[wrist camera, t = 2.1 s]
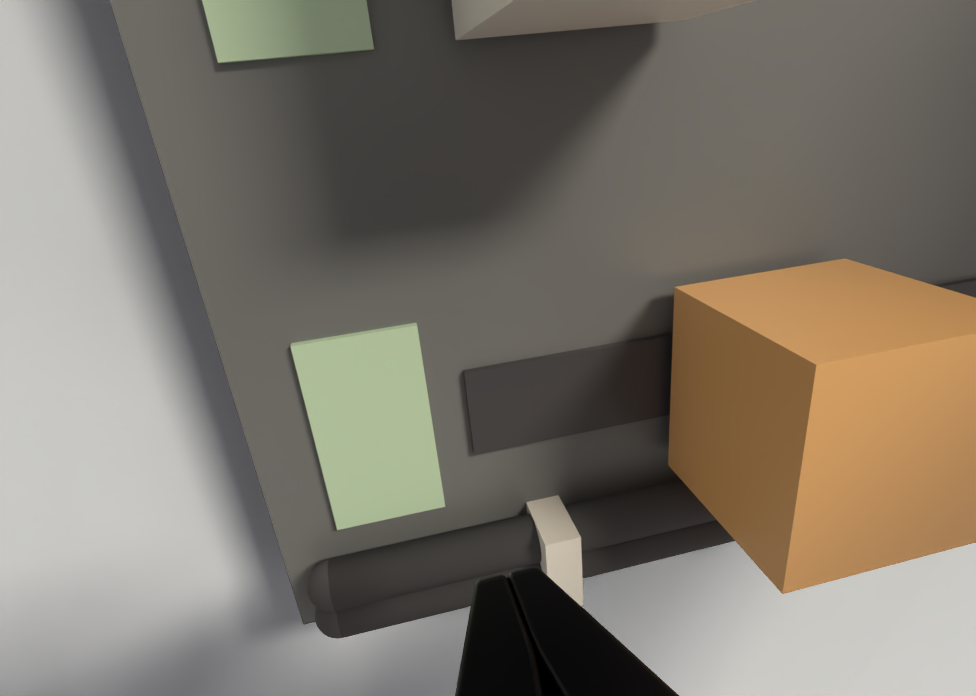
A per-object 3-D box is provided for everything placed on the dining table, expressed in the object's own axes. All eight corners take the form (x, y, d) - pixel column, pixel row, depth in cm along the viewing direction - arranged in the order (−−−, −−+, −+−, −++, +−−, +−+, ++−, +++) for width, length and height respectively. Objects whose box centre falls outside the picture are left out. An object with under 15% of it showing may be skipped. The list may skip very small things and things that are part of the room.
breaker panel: (1226, -365, 12) (1401, -461, 10) (995, 409, 19) (1070, 444, 17) (30, -403, 8) (-71, -565, 6) (309, 564, 15) (303, 630, 13)
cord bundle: (1073, 380, 16) (1140, 406, 15) (1052, 441, 17) (1113, 470, 16) (303, 551, 13) (297, 603, 11) (321, 616, 14) (318, 672, 12)
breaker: (844, 258, 12) (1046, 319, 9) (817, 432, 14) (976, 542, 11) (674, 287, 12) (816, 364, 8) (668, 464, 14) (782, 594, 10)
